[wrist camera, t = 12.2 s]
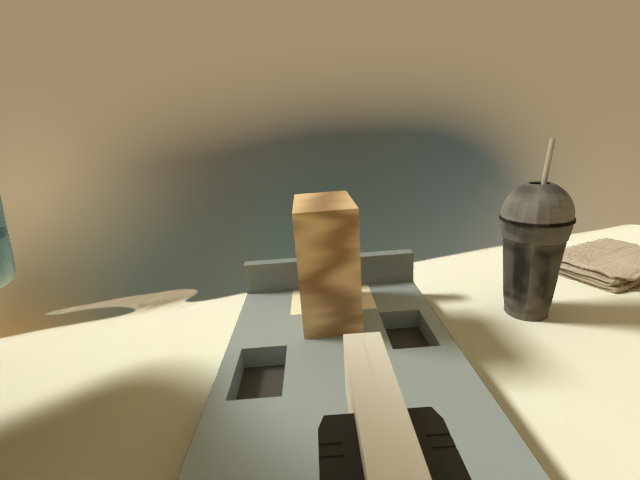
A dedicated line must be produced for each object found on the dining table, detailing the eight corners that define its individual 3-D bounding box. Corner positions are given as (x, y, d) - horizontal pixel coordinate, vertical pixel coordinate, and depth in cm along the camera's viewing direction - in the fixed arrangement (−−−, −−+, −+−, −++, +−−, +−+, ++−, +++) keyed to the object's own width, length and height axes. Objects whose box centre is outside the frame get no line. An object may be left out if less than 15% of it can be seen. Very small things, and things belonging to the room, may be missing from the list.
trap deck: (155, 598, 18) (126, 506, 16) (251, 305, 49) (245, 261, 47) (577, 563, 18) (597, 468, 16) (409, 293, 49) (410, 249, 47)
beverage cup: (478, 306, 44) (489, 141, 38) (519, 292, 47) (536, 136, 41) (532, 334, 38) (556, 141, 32) (576, 316, 40) (606, 135, 35)
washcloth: (531, 270, 55) (534, 252, 54) (601, 248, 61) (604, 231, 60) (621, 301, 44) (625, 278, 43) (693, 270, 51) (699, 250, 50)
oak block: (304, 339, 35) (292, 213, 32) (303, 295, 45) (294, 194, 41) (363, 334, 36) (358, 208, 32) (350, 291, 45) (345, 190, 41)
